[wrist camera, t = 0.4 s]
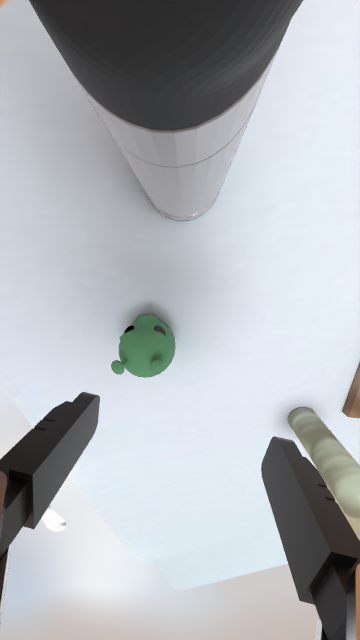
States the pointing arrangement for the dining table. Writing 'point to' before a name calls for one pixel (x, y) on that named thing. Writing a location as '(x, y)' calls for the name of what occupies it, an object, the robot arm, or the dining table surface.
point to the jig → (353, 398)
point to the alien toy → (145, 348)
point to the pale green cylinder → (329, 458)
